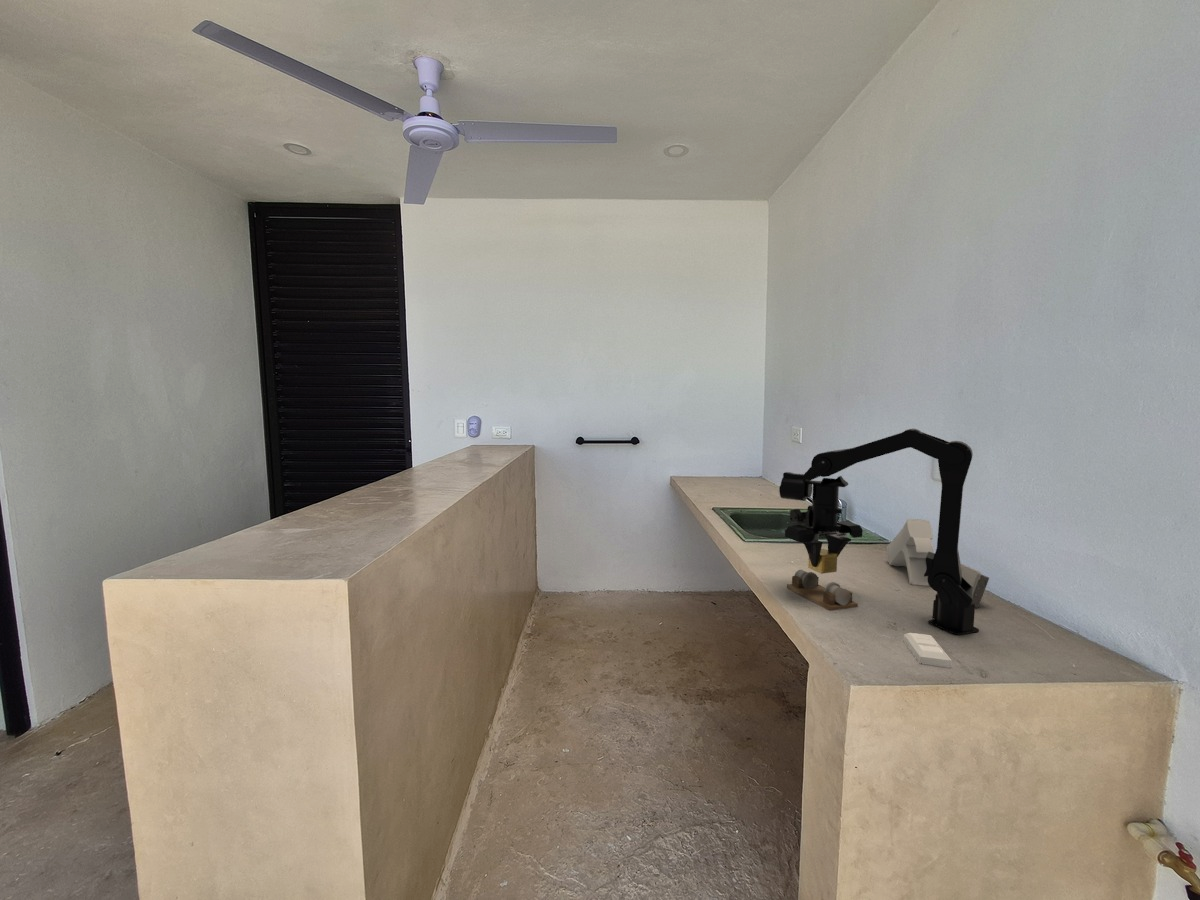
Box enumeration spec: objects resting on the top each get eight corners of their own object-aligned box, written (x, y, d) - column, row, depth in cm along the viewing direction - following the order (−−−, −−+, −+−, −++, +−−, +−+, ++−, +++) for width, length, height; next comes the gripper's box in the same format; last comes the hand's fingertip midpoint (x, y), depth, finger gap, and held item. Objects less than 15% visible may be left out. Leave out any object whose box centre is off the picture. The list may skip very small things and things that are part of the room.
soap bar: (931, 646, 96) (932, 633, 95) (950, 670, 87) (951, 656, 87) (903, 642, 97) (904, 630, 97) (919, 665, 88) (920, 652, 88)
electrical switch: (936, 594, 122) (942, 558, 121) (956, 596, 122) (963, 560, 121) (964, 609, 113) (971, 571, 112) (986, 612, 113) (993, 573, 112)
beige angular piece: (909, 547, 146) (931, 518, 130) (918, 601, 137) (944, 576, 121) (885, 546, 148) (905, 516, 132) (893, 599, 139) (915, 573, 123)
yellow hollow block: (837, 572, 117) (838, 554, 117) (822, 574, 116) (823, 555, 115) (821, 565, 122) (822, 548, 122) (807, 567, 121) (807, 549, 121)
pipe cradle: (857, 606, 114) (858, 586, 113) (829, 610, 111) (830, 589, 111) (812, 584, 128) (812, 566, 128) (786, 587, 126) (787, 569, 125)
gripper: (831, 495, 128) (828, 553, 129) (771, 499, 123) (769, 559, 124) (865, 503, 117) (862, 566, 119) (802, 507, 112) (799, 573, 113)
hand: (822, 565), depth 119 cm, fingers closed on yellow hollow block, 4 cm apart
